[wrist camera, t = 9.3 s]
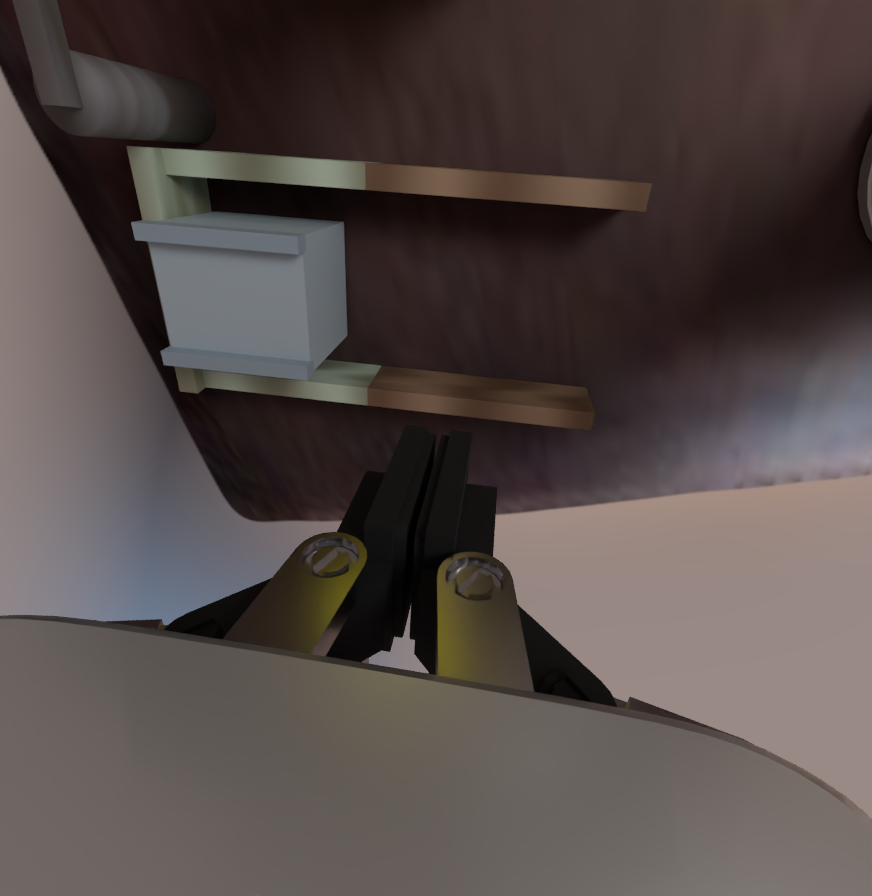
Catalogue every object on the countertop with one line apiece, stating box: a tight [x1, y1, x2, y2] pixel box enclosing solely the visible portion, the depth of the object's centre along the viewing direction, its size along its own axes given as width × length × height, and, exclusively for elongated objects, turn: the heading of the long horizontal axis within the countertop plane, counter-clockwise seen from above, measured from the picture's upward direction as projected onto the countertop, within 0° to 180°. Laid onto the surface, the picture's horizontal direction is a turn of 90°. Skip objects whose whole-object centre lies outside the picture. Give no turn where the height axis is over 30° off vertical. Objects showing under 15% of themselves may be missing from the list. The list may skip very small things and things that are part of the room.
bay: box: [13, 0, 652, 431], centre depth 26 cm, size 27×20×10 cm
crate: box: [131, 211, 347, 381], centre depth 28 cm, size 8×7×8 cm
